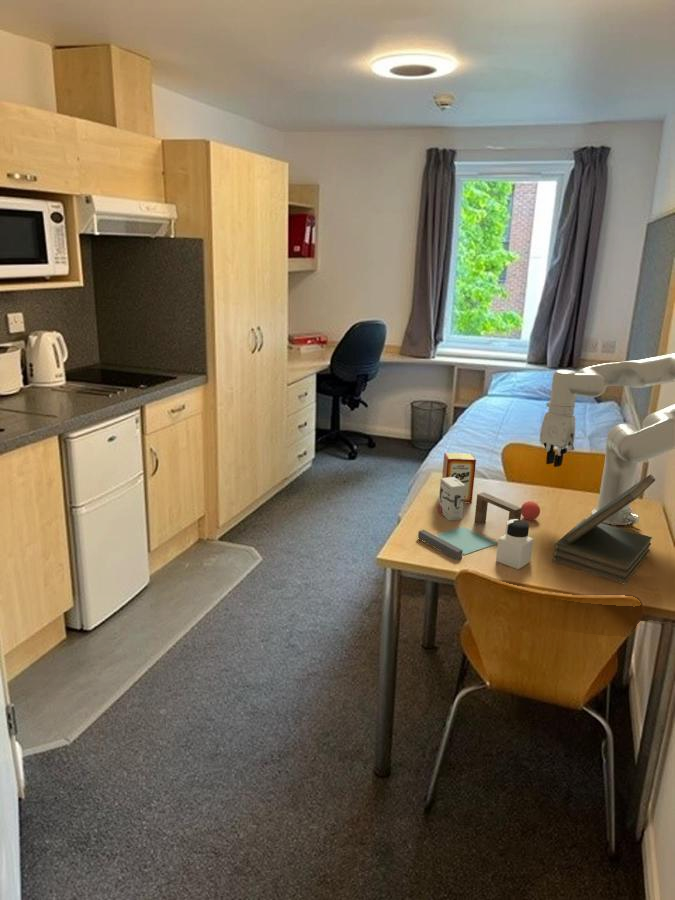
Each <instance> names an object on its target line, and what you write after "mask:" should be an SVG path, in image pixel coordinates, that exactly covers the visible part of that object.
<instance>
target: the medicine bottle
mask: <svg viewBox="0 0 675 900" xmlns="http://www.w3.org/2000/svg"><path fill="white" fill-rule="evenodd" d="M529 531H530V524H529V522H527V521H525V520H522V519H520V520H519V519H512V520H509V521H508V520H507V521H506V524H505V532H504V535H502V536H500V537H498V539H497V543H498V544H497V547H496V548H497V549H496V555H495V561H496V562H498V563H500V564H502V565H505V566H508V567H511V568H514V569H516V570H520V569H522V568H523V567H524V566H526V565H528V564H529V563H530V562H531V559H532V553H533V546H534V538H533V537H530V536H529Z"/></svg>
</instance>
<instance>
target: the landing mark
mask: <svg viewBox="0 0 675 900" xmlns="http://www.w3.org/2000/svg"><path fill="white" fill-rule="evenodd" d="M435 535H436V536H438V538H440V539H442V540H444V541H446V542H448V543H450V544H452V545H454V546H456V547H457V548H459V549H461V550H463V552H462V556H463V555H464V556H466V555H468V554H471V553H474V552H478V551H480V550H484V549H487V548H489V547H492V546H495V545H498V541H497V542H496V541H494V540H492V539H490V538H488V537H487V536H484V535H482V534H480V533H478V532H476V531H474V530H473V529H469V528H468V527H466V526H460V527H457V528H454V529H450V530H447V531H443V532H440V533H437V534H435Z"/></svg>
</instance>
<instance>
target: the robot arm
mask: <svg viewBox="0 0 675 900" xmlns="http://www.w3.org/2000/svg"><path fill="white" fill-rule="evenodd" d="M670 383H675V352H674V353H668V354H664V355H663V354H662V355H658V356H653V357H649V358H648V357H647V358H643V359H636V360H625V361H619V362H607V363H601V364H597V365H592V366H587V367H583V368H581V369H579V370H578V371H575V370H573V369H570V370H569V369H557V370H555V371H554V373H553V376H552V382H551V391H550V398H549V402H547V403H546V407H548V410H547V411H545V414H544V416H543V419H542V422H541V423H542V424H541V427H540V433H539V442H540V443H541V444H542V445H543V446H544V448H545V452H547V453H546V459H545V460H546V462H545V463H546V465H551V464H553V467H555V468H558V467H562V464H563V460H564V455H566V454H567V453H568V452H572V451H574V450H575V446H574V442H575V438H576V437H575V435H576V416H575V415H574V412H575V405H576V399H577V396H582V397H586V398H597V397H599V396H601V395H603V394H604V393H605V391H606V389H607V387H614V386H618V387H619V386H622V387H627V388H628V387H629V388H636V389H640V388H641V389H642V388H648V387H652V386H659V385H662V384H664V385H665V384H670ZM555 447H557V450H556V451H555ZM674 449H675V404H672V405H669V406H667V407H665V408H662V409H659V410H657V411H654V412H652V413H650V414H648V415H647V416H645V418H644V419H643V421H642V429H640V430H639V429H638V428H636V427H635V426H634V425H632V424H629V423H619V424H616V425H614V426H613V427H611V429H610V430H609V431H608V433H607V436H606V441H605V459H604V465H603V471H602V477H601V484H600V487H599V488H600V489H599V495H598V496H599V497H598V502H597V507H596V508H594V509H592V510H591V512H590V513H591V514H590V516H591V515H593V514H594V513H596V512H597V511H599V510H600V509H601V508H603V507H604V506H606V505H607V504H609V503H610V502H611V501H613V500H614V499H616V498H617V497H619V496H620V495H621V494H623V493H624V492H626V491H627V490H629V489H630V488H632V487H633V486H634V485H635V480H636V476H637V475H636V474H637V468H638V464H639V463H641V462H644V461H648V460H650V459H652V458H655V457H659V456H661V455H662V454H665V453H668V452H670V451H673V450H674ZM639 521H640V516H639V515H637V514H634V513H633V508H632V507H631V503H629V504H628V505H626V506H625V507H623V508H622V509H621V510H619V511H618V512H616V513H615V514H613V515H612V516H610V517H609V518H607V519H606V520H604V521H603V522H601V523H602V524H605V523H606V525H609V524H611V525H610V526H616V525H625V526H628V525H627V524H629V525H631V524H632V523H633V524H638V523H639ZM631 522H632V523H631ZM630 523H631V524H630Z"/></svg>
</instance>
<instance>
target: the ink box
mask: <svg viewBox="0 0 675 900" xmlns="http://www.w3.org/2000/svg"><path fill="white" fill-rule="evenodd" d="M439 481H440V484H439V492H438V493H439V494H438V495H439V496H438V505H437V511H438V512H439V513H440V514H441V515H442V516H443V517H444V516H445V517H444V518H446V519H447V521H449V520H450V521H459V520H462V519H463V511H464V504H465V503H464V493H465V484H463V483H462V482H460V481H459V480H458V479H456V478H455V477H447V478H442V477H441V478H440V480H439Z"/></svg>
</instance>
